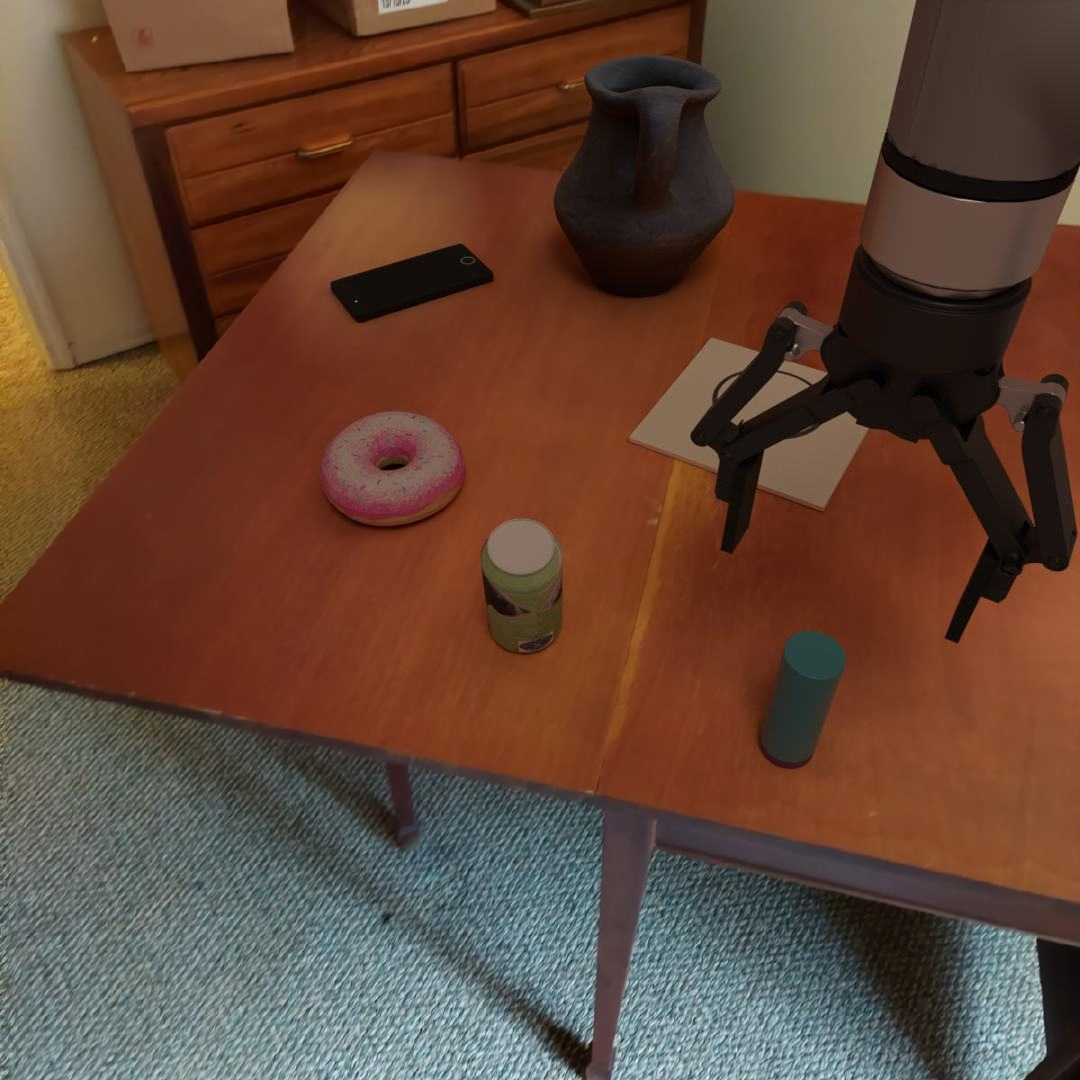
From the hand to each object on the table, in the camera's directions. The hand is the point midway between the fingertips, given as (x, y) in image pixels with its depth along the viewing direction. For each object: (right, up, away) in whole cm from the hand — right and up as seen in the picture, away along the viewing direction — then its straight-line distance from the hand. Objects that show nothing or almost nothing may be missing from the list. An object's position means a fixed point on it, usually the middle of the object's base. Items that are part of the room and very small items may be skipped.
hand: (840, 580), depth 57 cm
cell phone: (-33, +33, +59) cm, 75 cm away
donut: (-32, +7, +34) cm, 47 cm away
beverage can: (-19, -6, +21) cm, 29 cm away
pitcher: (-6, +34, +59) cm, 69 cm away
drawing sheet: (+5, +15, +40) cm, 43 cm away
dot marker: (0, -13, +14) cm, 19 cm away
